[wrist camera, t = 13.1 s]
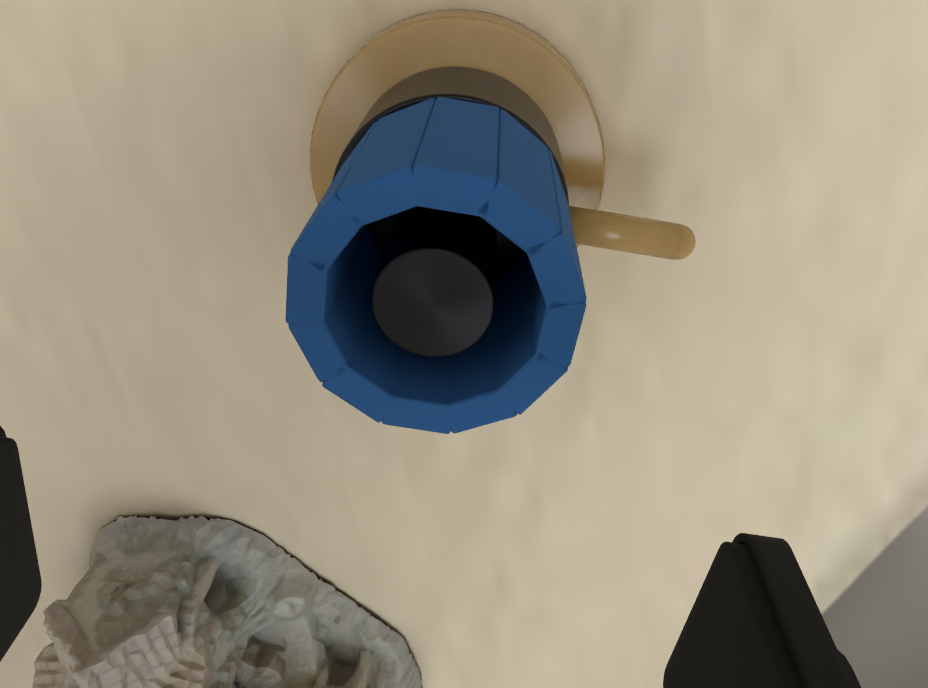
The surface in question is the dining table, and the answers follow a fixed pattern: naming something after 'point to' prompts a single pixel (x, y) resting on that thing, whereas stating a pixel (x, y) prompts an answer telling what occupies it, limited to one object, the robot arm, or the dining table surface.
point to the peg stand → (455, 234)
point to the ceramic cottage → (211, 617)
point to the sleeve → (516, 294)
